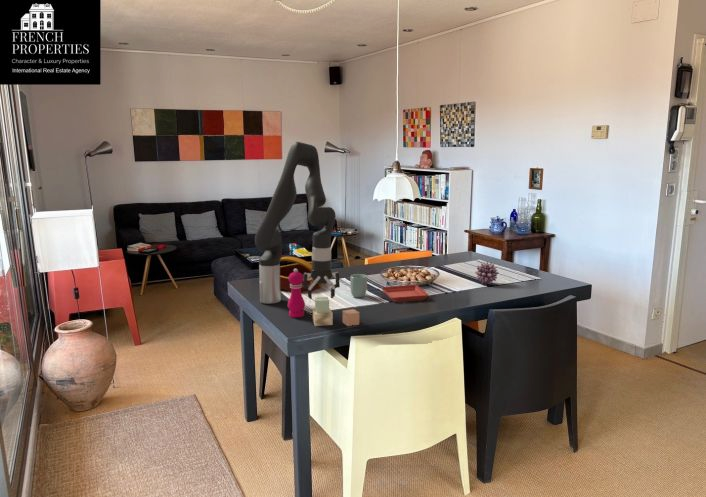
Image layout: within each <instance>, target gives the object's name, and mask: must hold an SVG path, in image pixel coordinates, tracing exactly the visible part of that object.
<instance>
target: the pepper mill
mask: <svg viewBox="0 0 706 497" xmlns="http://www.w3.org/2000/svg"><path fill="white" fill-rule="evenodd" d="M302 281H303V275H302V274H301V273H299V272H298V269H294V272H293V273H291V274H290V275H289V282H290V283H291V284H290V288H291V291H290V296H289V299H288V301H287V309H289V311H288V317H291V318H294V319H295V318H296V319H297V318H302V317H304V315H305V311H304V309H305V307H306V302H305V300H304V297H303V295H302V292H301V287H302Z"/></svg>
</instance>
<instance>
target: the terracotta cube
mask: <svg viewBox="0 0 706 497" xmlns="http://www.w3.org/2000/svg"><path fill="white" fill-rule="evenodd" d="M342 323H343V324H344V325H345V326H347V327H352V325H353V326H357V325H358V326H359V325H360V311H357V310H356V309H354V308H353V309H352V308H350V309H345V310H342Z"/></svg>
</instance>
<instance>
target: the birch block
mask: <svg viewBox="0 0 706 497" xmlns="http://www.w3.org/2000/svg"><path fill="white" fill-rule="evenodd" d="M333 314H334V313H333V311H332V309H331V308H330V307H329V313H316V310H315V308H313V309H312V322H313V324H314V327H321V326H322V327H323V326H333V324H334V323H333V322H334V321H333V320H334V317H333Z"/></svg>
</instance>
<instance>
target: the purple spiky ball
mask: <svg viewBox="0 0 706 497" xmlns="http://www.w3.org/2000/svg"><path fill="white" fill-rule="evenodd" d="M476 270H477V271H474V274H476V281H479V283H481V284H482V285H483V284H484V283H485V285H491V284H493V281H494V282H497V278H498V274H500V273H499V271H498V269H497V266H495V264H494V263H492V262H490V263H489V262H488V261H486V263H485V261H483V262H481V263H480V265H477V267H476Z"/></svg>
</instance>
